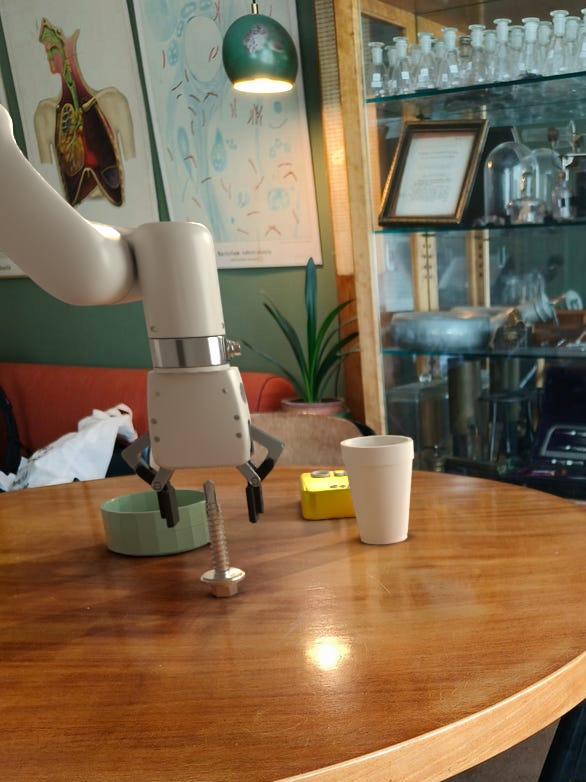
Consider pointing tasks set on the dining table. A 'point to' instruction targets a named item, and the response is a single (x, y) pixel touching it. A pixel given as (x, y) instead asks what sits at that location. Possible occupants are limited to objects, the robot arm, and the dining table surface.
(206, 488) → the screw
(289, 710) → the dining table surface
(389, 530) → the foam cup
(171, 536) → the bowl
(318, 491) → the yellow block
